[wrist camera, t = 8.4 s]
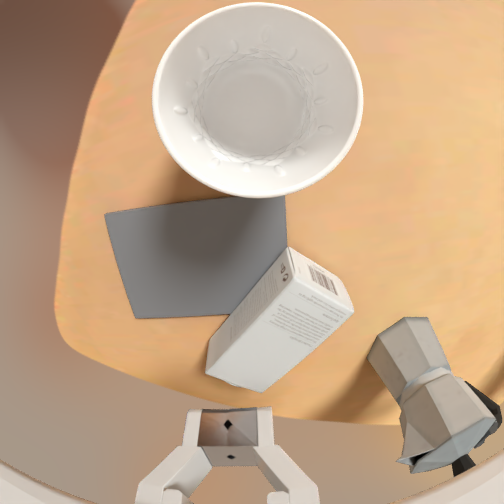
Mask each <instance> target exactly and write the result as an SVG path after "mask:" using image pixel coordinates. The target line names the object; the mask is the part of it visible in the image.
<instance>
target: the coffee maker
mask: <svg viewBox="0 0 504 504" xmlns="http://www.w3.org/2000/svg"><path fill="white" fill-rule="evenodd" d="M367 359H368V361H369V362H370V364H371V365H372V367H373V368H374V369H375V371H376V372H377V374H378V375H379V377H380V378H381V380H382V381H383V382H384V384H385V385H386V387H387V388H388V390H389V391H390V393H391V394H392V396H393V397H394V399H395V400H396V402H397V403H398V405H399V406H400V408H401V411H402V412H401V415H400V418H399V419H400V424H401V428H402V432H403V437H404V445H403V451H402V456H401V457H400V458H399V459H398V460H397V461H396V462H399V463H403V464H407V465H409V467H410V473H411V474H413V473H420V472H426V471H431V470H434V469H438V468H441V467H444V466H448V465H450V464H452V469H453V475H454V477H455V476H457V475H459V474H461V473H463V472H465V471H467V470H469V469H471V468H472V467H474V466H476V465H475V463H474V462H473V461H472V459H471V458H470V457H469V455H468V453H469V452H470V451H471V450H472V448H477V447H479V446H481V445H482V444H483V443H484V441H485V439H486V438H487V437H488V436H489V435H491V434H493V433H495V431H496V430H497V429H498V428H499V427H500V425H501V423H502V415H501V411H500V406H499V405H497V404H496V403H495V402H493V401H492V400H491V399H489V398H488V397H487V396H485V395H484V394H483V393H481V392H480V391H479V390H477V389H476V388H475V387H473V386H472V385H471V384H469V383H468V382H467V381H464V380H463V379H462V378H460V377H456V376H454V375H453V373H452V372H451V369H450V366H449V363H448V361H447V358H446V356H445V354H444V351H443V349H442V347H441V345H440V343H439V340H438V338H437V336H436V334H435V332H434V330H433V328H432V326H431V324H430V322H429V320H428V318H427V317H404V318H402V319H401V320H400V321H398V322H397V323H395V324H394V325H392V326H391V327H389V328H388V329H386V330H385V331H383V332H382V333H380V334H379V335H378V336H377V338H376V340H375V342H374V344H373V346H372V348H371V350H370V352H369V354H368V356H367Z"/></svg>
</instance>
